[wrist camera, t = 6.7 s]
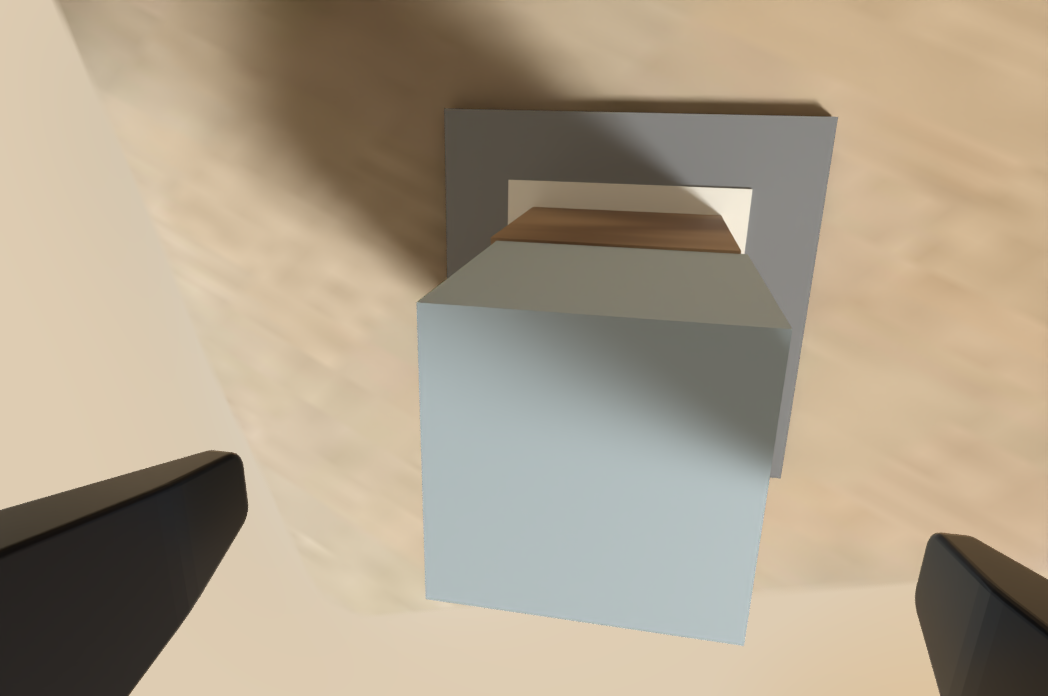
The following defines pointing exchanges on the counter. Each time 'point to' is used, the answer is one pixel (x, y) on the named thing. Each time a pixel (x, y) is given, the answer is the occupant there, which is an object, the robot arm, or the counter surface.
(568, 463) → the bluegrey block
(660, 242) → the walnut block
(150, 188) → the counter surface
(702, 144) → the pad
